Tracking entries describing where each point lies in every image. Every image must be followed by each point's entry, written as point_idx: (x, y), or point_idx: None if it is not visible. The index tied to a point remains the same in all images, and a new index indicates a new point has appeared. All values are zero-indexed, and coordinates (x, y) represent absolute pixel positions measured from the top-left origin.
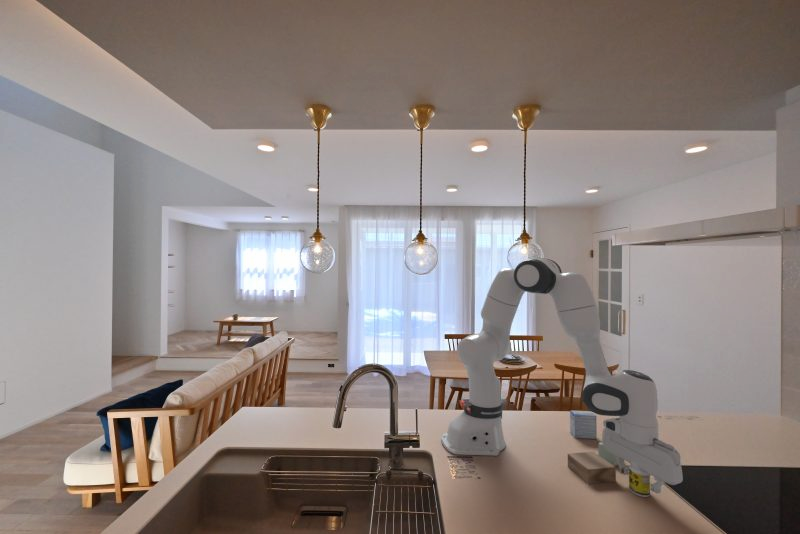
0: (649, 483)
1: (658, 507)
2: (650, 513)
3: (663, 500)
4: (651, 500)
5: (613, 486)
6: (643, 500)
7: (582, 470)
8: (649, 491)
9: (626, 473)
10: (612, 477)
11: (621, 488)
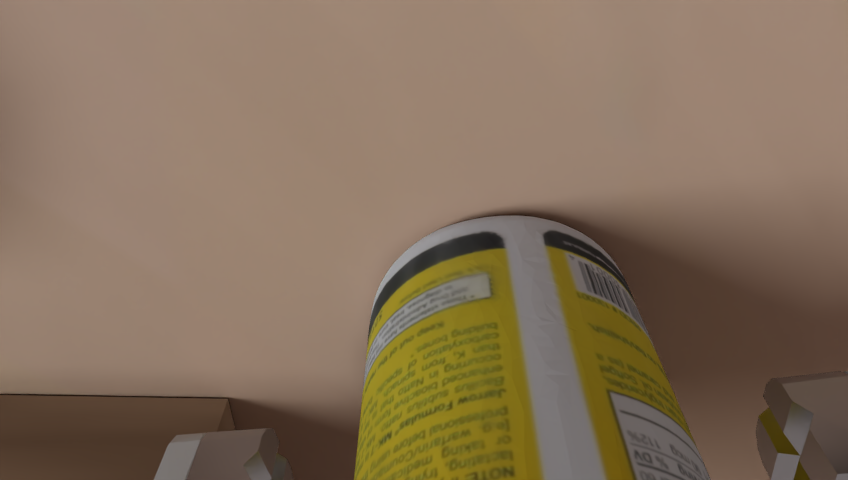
0: (689, 430)
1: (818, 340)
2: None
3: (769, 158)
4: (688, 310)
5: (337, 475)
6: None
7: None
8: (644, 325)
9: (272, 469)
10: None
11: None
